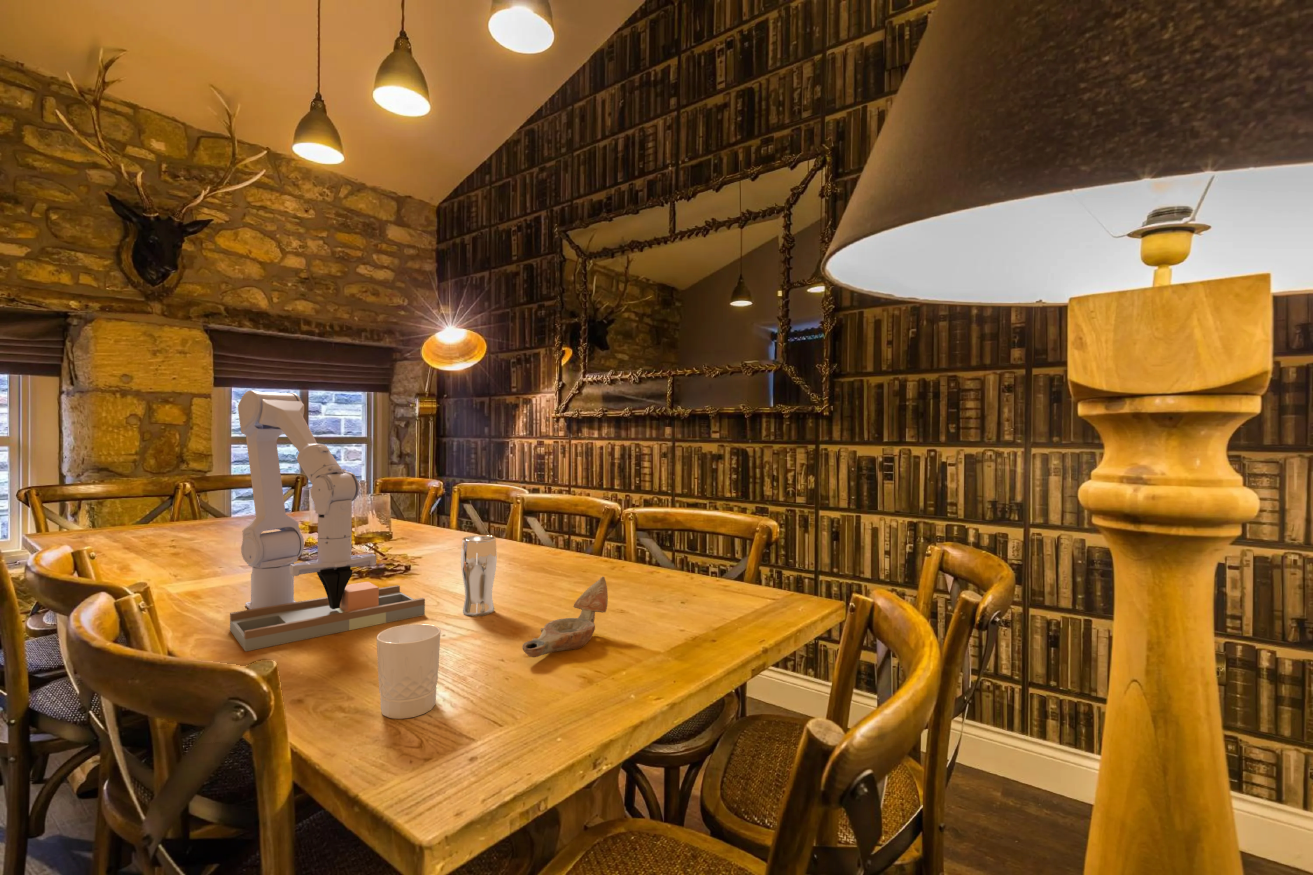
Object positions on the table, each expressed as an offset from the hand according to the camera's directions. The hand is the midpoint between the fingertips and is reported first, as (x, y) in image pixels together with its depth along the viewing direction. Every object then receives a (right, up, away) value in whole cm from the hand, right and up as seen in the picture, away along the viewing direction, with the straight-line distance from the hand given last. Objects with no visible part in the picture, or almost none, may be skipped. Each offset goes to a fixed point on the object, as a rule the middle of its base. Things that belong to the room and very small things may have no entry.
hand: (334, 607), depth 117 cm
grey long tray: (0, -3, 0) cm, 3 cm away
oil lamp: (+46, -4, -11) cm, 48 cm away
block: (+3, -1, +3) cm, 4 cm away
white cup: (+28, -4, -35) cm, 45 cm away
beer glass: (+25, -3, +7) cm, 27 cm away
